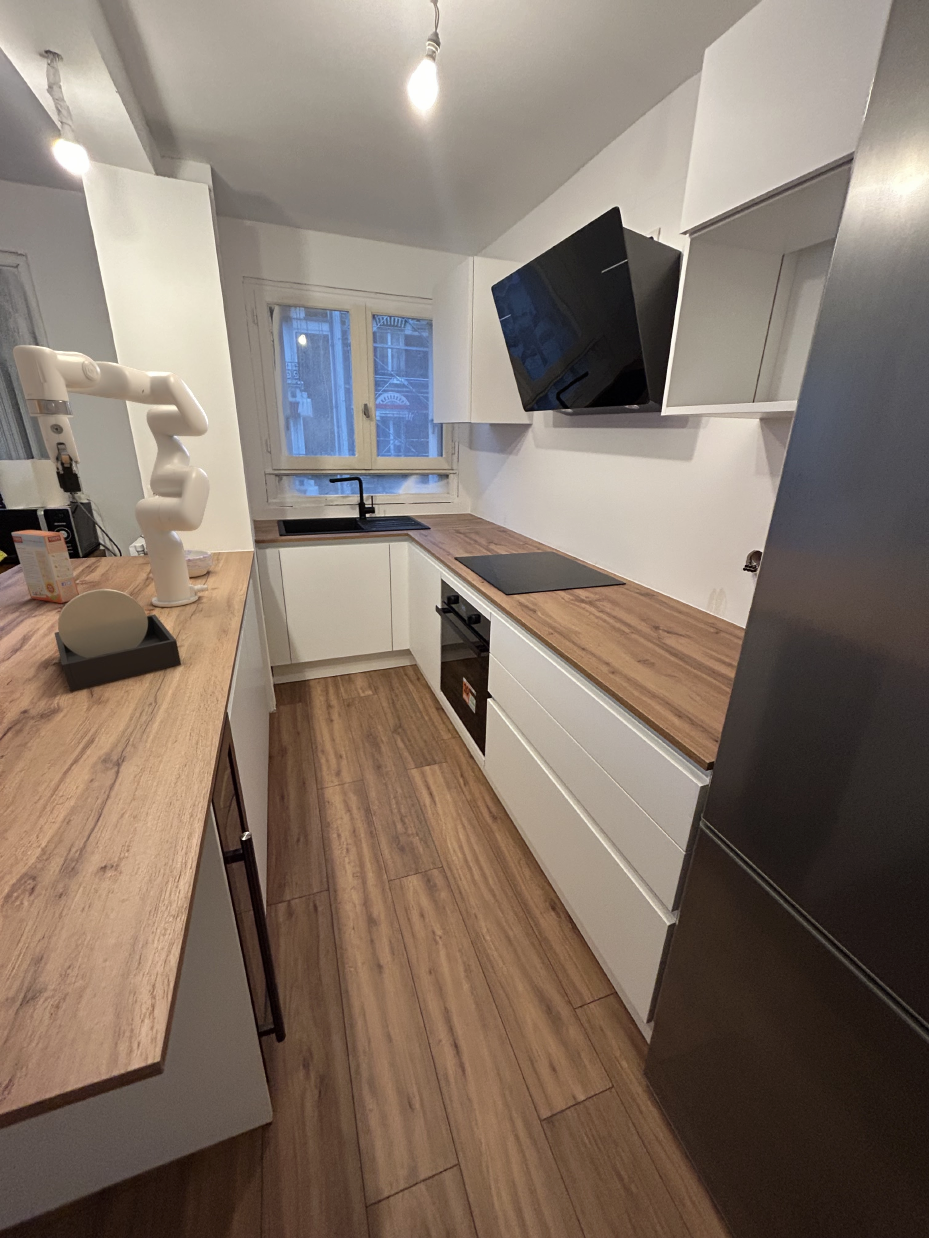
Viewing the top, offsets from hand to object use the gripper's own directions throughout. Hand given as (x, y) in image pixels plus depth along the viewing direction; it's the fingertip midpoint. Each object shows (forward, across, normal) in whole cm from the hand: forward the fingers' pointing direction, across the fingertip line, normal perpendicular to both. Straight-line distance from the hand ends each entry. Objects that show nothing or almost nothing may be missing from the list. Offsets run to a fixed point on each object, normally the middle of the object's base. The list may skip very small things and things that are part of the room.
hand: (70, 490), depth 112 cm
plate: (+35, -20, 0) cm, 40 cm away
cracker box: (+36, +45, +8) cm, 58 cm away
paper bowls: (+36, +51, -32) cm, 70 cm away
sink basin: (+36, -20, 0) cm, 41 cm away
